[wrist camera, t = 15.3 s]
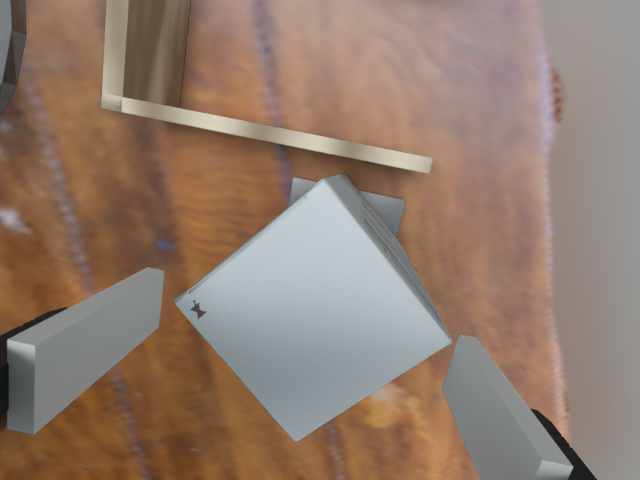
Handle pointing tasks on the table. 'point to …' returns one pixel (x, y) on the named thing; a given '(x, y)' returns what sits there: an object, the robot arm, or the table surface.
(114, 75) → the shelf bay
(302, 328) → the supplement box
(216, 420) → the table surface
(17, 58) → the grey streaked cylinder
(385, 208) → the plate
